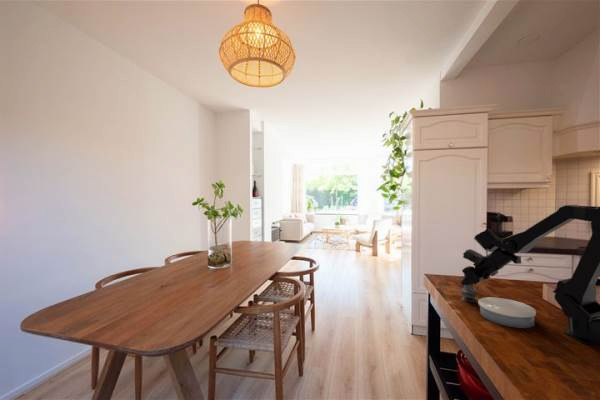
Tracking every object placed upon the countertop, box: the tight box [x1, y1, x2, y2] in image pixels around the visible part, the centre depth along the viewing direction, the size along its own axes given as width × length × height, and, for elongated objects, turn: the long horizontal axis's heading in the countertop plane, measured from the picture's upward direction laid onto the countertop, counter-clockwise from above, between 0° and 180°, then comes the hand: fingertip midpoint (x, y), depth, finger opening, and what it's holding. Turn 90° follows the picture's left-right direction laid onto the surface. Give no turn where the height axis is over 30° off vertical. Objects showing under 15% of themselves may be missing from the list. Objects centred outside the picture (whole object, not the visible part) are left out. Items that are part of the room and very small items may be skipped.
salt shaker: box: [460, 273, 479, 304], centre depth 97 cm, size 6×6×12 cm
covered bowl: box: [477, 296, 537, 329], centre depth 82 cm, size 15×15×4 cm
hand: (464, 282), depth 98 cm, fingers open, 5 cm apart
